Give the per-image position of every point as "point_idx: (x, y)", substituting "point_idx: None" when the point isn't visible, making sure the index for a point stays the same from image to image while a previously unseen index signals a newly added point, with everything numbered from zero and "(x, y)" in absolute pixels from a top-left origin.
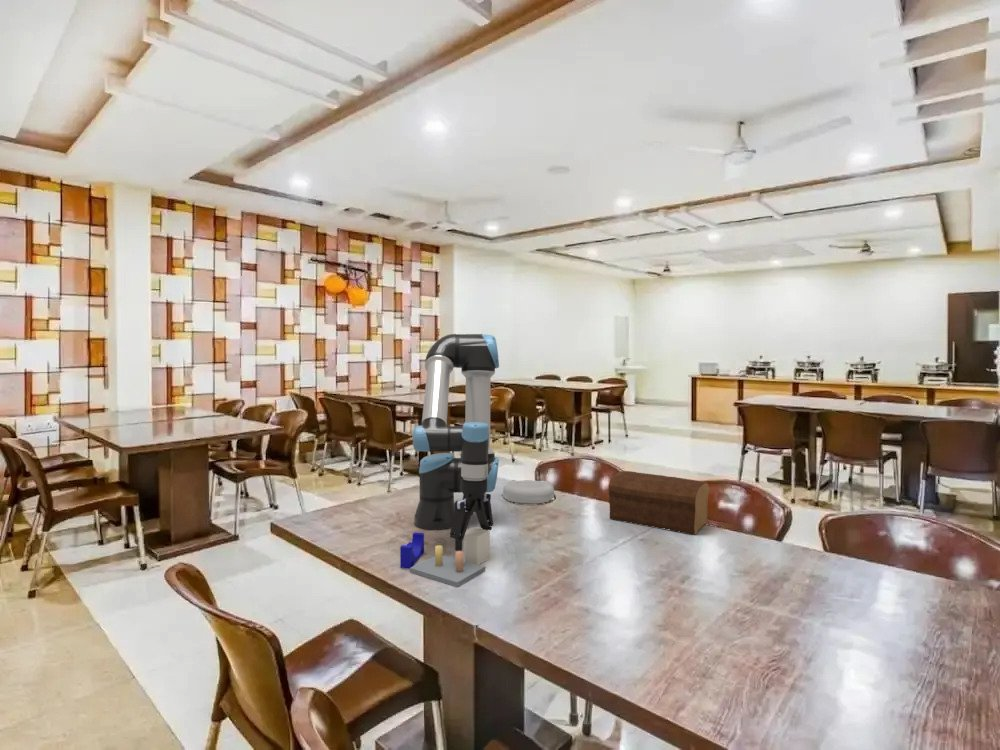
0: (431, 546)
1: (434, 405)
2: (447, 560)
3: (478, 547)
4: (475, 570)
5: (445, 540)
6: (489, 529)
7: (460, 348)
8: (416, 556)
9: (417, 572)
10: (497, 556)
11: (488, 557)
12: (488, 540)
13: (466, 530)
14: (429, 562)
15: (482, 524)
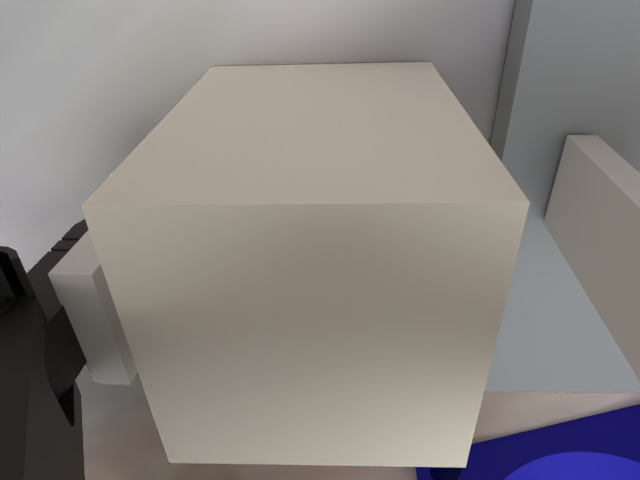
0: (311, 473)
1: None
2: (547, 290)
3: (444, 121)
4: None
5: (185, 469)
6: (15, 263)
7: None
8: (570, 454)
9: None
10: (108, 34)
11: (229, 69)
12: (179, 136)
13: (339, 455)
14: None
15: (62, 417)
